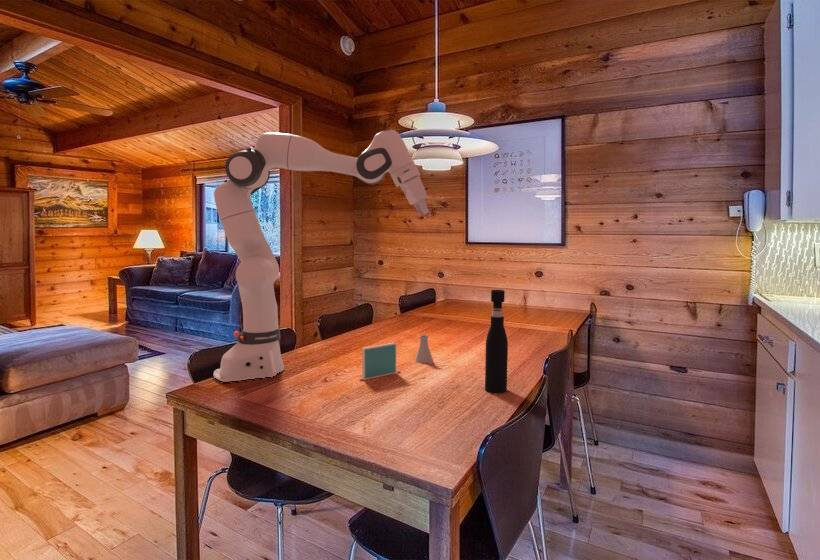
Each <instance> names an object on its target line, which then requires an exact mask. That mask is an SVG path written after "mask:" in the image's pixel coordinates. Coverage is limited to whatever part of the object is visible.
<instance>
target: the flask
mask: <svg viewBox="0 0 820 560" xmlns="http://www.w3.org/2000/svg"><path fill="white" fill-rule="evenodd" d="M428 338H429V335H427V334H421V335H419V339H420V340H419V347H418V349H417V352H416V355H415V357H414V358H415V359H414V360H415V363H419V364H420V363H421V364H429V365H431V366H432V365H433V364H435V362H434V360H433V356H432V354H431V350H430V347H429V341H428V340H429V339H428Z"/></svg>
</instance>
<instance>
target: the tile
mask: <svg viewBox="0 0 820 560" xmlns="http://www.w3.org/2000/svg"><path fill="white" fill-rule="evenodd" d="M393 374H398V373H397V342H395V341H394V342H390V343H383V344H378V345H370V346H363V347H362V348H361V376H362V378H361V379H364V381H365V380H370V379H376V378H379V377H384V376H385V377H386V376H389V375H390V376H391V375H393Z"/></svg>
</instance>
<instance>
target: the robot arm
mask: <svg viewBox="0 0 820 560" xmlns="http://www.w3.org/2000/svg"><path fill="white" fill-rule="evenodd" d="M368 145H369V146H367V148H366V149H364V151H362V152H361V154H360V155H358V156H357V157H356V156H350V155H346V154H341V153H335V152H332V151H330V150H328V149H326V148H324V147H323V146H322V145H320V144H319V143H317V142H316V141H315V140H312V139H310V138H307V137H304V136H301V135H297V134H292V133H284V132H283V133H282V132H265V133H262V134H260V135H259V136H258V137H257V140H256V142H255V145H254V146H255V147H247V148H246V149H242V150H239V151H235V152H234V153H231V155H230V156H228V158H227V159H226V161H225V165H224V167H225V168H224V169H225V173H226V177H227V178H228V180H227V181H225V182H222V183H220V184H219V185H218V186H216V188H215V189H214V191H213V197H214V203H215V207H216V211H217V214H218V218H219V221H220V223H221V225H222V228H223V231H224V233H225V236H226V238H227V240H228V243H229V245H230V247H232V250H233V251H234V253H235V254H236V257H238V260H239V261H240V263H239V264H238V266H237V268H236V270H235V281H236V282H237V285H238V293H239V296H240V300H241V306H242V319H243V320H242V322H243V323H242V324H243V329H242V330H241V331H238V330H236V331H234V332H233V336H234V337H235V338H237V343H236V344H234V345H233V346H232V347H231V348H229V350H228V351H226V352H225V353H224V354H223V355H222V357H221V361H220V367H219V368H217V369H215V370H214V371H213V377H214V379H215V378H216V379H218V380H221V381H237V380H246V379H255V378H263V379H266V378H265V377H271V378H274V377H276V375H277V373H278V374H279V372H280V373H281V372H283V371H284V370H285V365H284V362H283V359H282V358H283V357H282V353H281V348H280V347H281V345H280V344H281V332H280V328H279V319H278V318H279V316H278V315H279V313H278V309H279V308H278V304H277V300H276V293H275V288H274V283H275V282H276V280H277V279H278V277H279V275H280V266H279V263H278V261H277V259H276V258H275V255H274V253H273V251H272V249H271V247H270V244H269V243H268V240H267V239H266V237H265V234H264V232H263V230H262V227H261V224H260V222H259V218H258V217H257V214H256V211H255V207H254V205H253V203H252V199H251V195H253V194H255V193H256V192H257V191H259V190H260V189H262V188H263V187H264V186H266V184H267V183H268V182H269V180H270V176H271V173H270V170H272V169H277V168H278V169H285V170H290V171H299V172H332V173H337V174H343V175H348V176H352V177H355V178H357V179H358V180H360V181H361V182H362V183H364V184H367V185H377V184H379V183H380V182H381V181H383V180H384V178H385V176H386V174H387V173H389V175H390V177H391V179H392V181H393V183H394V185H395V187H396V188H399V187H400V188H401V191H403V194H404V195H405V197H406V199H407V202H408V204H409V205H411V206H412V205H413V207H414V208H415V210H416V211H417V213H418V214H419V216H423V215H427V214H429V213H430V210H429V208H428V205H427V202H426V200H425V199H427V198H428V197H427V195H428V194H427V191H426V190H425V187H424V183H423V182H422V179H421V177H420V176H421V173H420V170H419V169H418V168H417V166H416V164H415V161H414V160H413V159H412V157H411V156H410V154H409V150H408V148H407V144H406V143H405V141H404V140H403V138H402V137H401V135H400V134H399V132H397V131H396V130H394V129H386V130H382V131H380V132H377V133H375V135H374V136H373V138H372V141H371V142H370V144H368ZM273 376H274V377H273ZM216 379H215V380H216ZM255 380H256V379H255Z"/></svg>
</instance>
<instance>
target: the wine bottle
mask: <svg viewBox="0 0 820 560" xmlns="http://www.w3.org/2000/svg"><path fill="white" fill-rule="evenodd" d="M505 293H506V291H505V290H503V289H491V290H490V302H491V303H493V305H492V310H491V316H490V326H489V329H488V331H487V335H486V339H485V362H484V363H485V365H484V366H485V367H484V368H485V371H484V373H485V374H484V390H485V391H486V392H487V391H488V393H490V392H491V393H490V394H495V393H500V394H504V392H505V393H506V392H507V390H508V358H509V357H508V353H509V352H508V351H509V343H508V336H507V333H506V329H505V325H504V324H505V318H504V314H503V313H504V311H503V303H504V302H505V297H506V296H505Z"/></svg>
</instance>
